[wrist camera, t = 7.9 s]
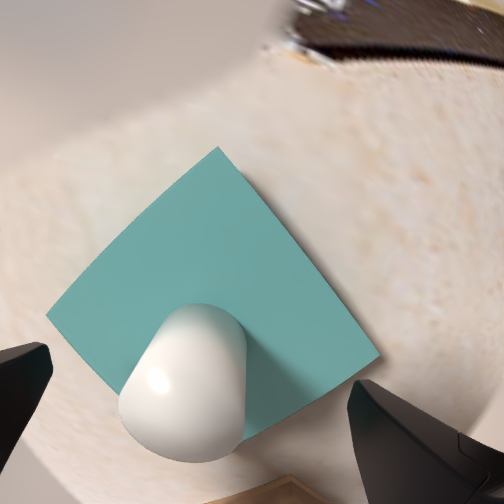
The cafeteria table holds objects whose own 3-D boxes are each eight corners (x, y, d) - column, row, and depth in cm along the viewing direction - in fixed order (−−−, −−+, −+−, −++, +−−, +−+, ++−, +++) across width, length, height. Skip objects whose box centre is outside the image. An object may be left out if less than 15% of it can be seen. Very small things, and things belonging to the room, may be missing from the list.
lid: (223, 153, 11) (193, 117, 5) (363, 331, 12) (427, 423, 6) (69, 298, 12) (-18, 361, 6) (204, 432, 13) (187, 531, 8)
